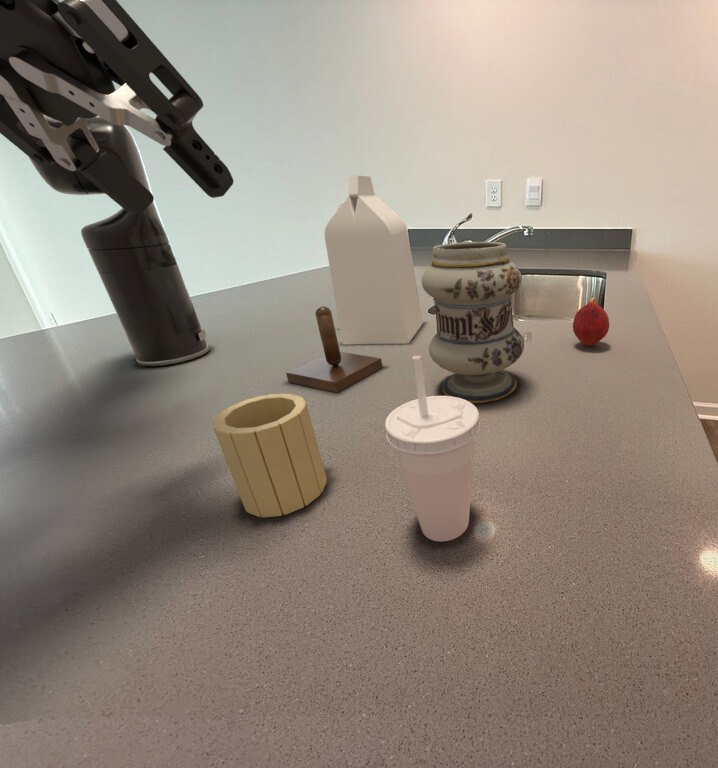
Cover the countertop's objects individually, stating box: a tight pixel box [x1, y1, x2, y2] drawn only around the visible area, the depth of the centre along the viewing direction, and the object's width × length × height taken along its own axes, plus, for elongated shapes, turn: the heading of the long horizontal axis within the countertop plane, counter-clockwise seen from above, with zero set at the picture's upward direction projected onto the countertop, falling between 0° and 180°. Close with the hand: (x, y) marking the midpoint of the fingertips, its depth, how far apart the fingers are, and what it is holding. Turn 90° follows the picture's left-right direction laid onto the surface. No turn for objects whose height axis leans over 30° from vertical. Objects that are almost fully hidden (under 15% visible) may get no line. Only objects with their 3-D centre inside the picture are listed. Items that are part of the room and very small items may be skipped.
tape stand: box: [285, 305, 384, 393], centre depth 56 cm, size 9×9×10 cm
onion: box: [572, 297, 610, 347], centre depth 65 cm, size 6×6×8 cm
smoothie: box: [384, 355, 481, 542], centre depth 29 cm, size 6×6×14 cm
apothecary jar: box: [421, 241, 525, 404], centre depth 50 cm, size 12×12×18 cm
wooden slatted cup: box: [212, 392, 328, 518], centre depth 34 cm, size 6×6×8 cm
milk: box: [324, 175, 424, 346], centre depth 70 cm, size 12×12×26 cm
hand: (183, 199), depth 30 cm, fingers open, 8 cm apart
